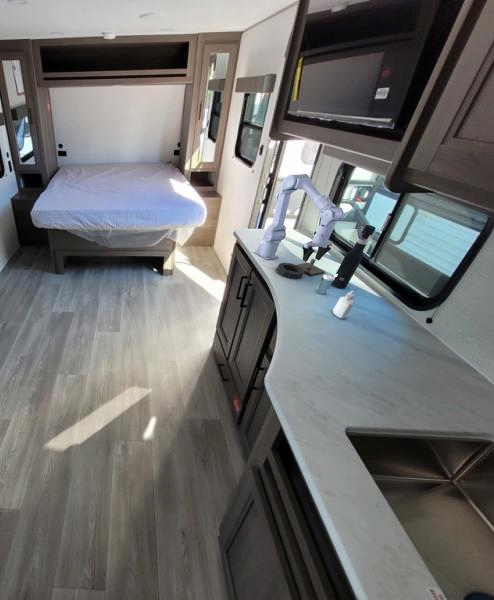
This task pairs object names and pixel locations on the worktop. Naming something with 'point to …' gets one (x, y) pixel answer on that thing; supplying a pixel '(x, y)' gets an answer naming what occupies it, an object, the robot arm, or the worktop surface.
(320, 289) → the milkshake
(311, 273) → the stand
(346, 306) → the eye dropper bottle
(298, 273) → the ring
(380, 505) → the worktop surface
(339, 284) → the black thermos flask
